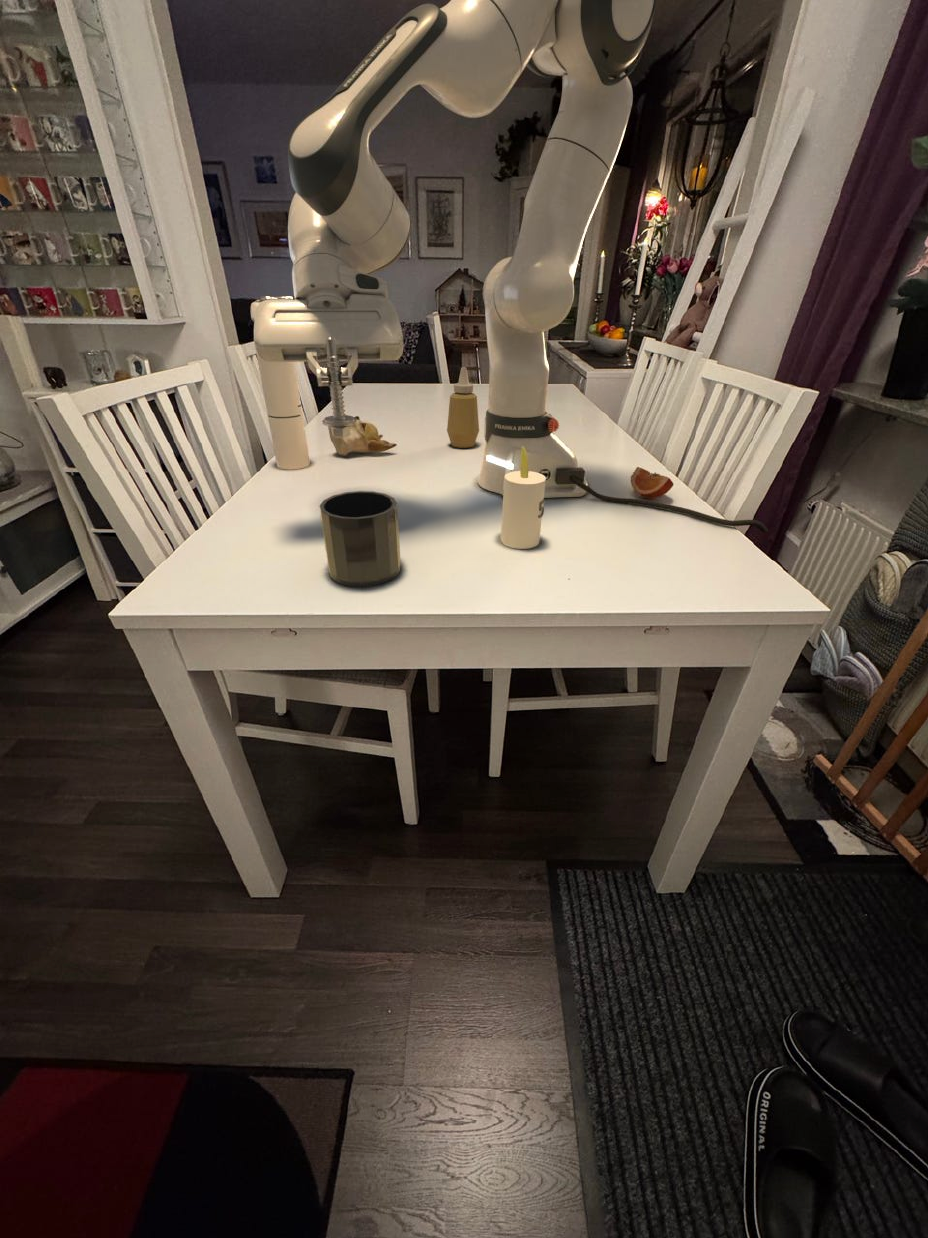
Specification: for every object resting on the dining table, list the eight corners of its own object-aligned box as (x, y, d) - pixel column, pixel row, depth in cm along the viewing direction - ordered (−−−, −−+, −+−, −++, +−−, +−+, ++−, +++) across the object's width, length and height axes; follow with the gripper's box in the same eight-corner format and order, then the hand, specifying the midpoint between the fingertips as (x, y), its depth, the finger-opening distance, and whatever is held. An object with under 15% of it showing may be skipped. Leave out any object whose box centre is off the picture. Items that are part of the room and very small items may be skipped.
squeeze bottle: (446, 441, 135) (445, 365, 125) (477, 441, 136) (479, 365, 126) (448, 450, 128) (447, 370, 118) (480, 449, 129) (482, 370, 119)
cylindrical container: (314, 460, 120) (296, 337, 106) (303, 470, 114) (283, 341, 100) (284, 459, 120) (262, 336, 107) (271, 468, 114) (247, 340, 101)
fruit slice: (621, 492, 105) (625, 467, 102) (645, 487, 107) (651, 463, 104) (651, 506, 98) (657, 480, 96) (677, 500, 101) (683, 475, 98)
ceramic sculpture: (320, 412, 122) (381, 410, 128) (323, 449, 126) (381, 446, 133) (334, 422, 114) (398, 419, 120) (336, 462, 119) (397, 457, 125)
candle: (530, 552, 81) (539, 456, 73) (493, 542, 84) (498, 448, 76) (546, 538, 86) (557, 445, 77) (511, 529, 88) (518, 439, 80)
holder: (405, 555, 80) (401, 492, 74) (393, 588, 71) (388, 520, 66) (339, 552, 80) (331, 489, 75) (320, 585, 72) (309, 517, 66)
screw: (328, 440, 74) (321, 432, 77) (361, 437, 75) (353, 429, 79) (314, 337, 67) (308, 333, 70) (351, 336, 68) (344, 332, 72)
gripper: (244, 277, 69) (251, 369, 67) (397, 280, 73) (409, 366, 71) (254, 314, 75) (261, 399, 73) (395, 314, 79) (406, 395, 77)
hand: (335, 383), depth 72 cm, fingers closed on screw, 2 cm apart
